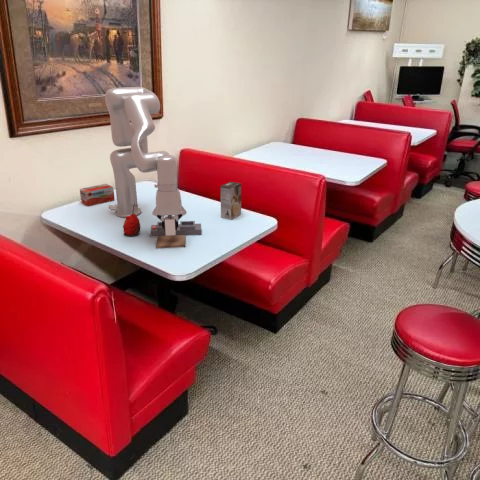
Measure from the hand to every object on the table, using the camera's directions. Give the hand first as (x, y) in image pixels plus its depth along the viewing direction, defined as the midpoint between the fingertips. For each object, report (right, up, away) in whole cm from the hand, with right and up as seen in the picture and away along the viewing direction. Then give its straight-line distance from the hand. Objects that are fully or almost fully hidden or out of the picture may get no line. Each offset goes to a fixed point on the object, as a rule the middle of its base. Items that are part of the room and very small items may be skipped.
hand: (170, 228), depth 179 cm
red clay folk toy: (-18, -2, +10) cm, 21 cm away
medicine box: (-46, +15, +48) cm, 68 cm away
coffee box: (+25, +7, +32) cm, 41 cm away
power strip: (+1, -1, +12) cm, 13 cm away
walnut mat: (0, -6, +3) cm, 6 cm away
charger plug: (0, -2, +1) cm, 2 cm away
